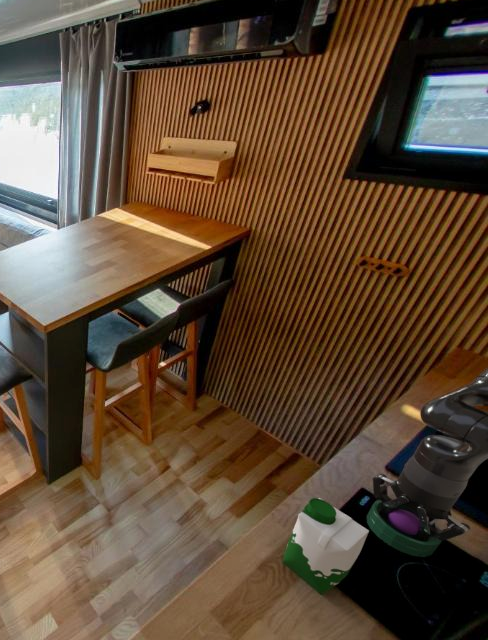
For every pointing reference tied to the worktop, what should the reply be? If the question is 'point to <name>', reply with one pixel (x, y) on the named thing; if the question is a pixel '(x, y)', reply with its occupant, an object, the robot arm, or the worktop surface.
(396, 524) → the ball
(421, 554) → the bowl
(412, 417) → the worktop surface
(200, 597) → the worktop surface
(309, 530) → the milk carton
